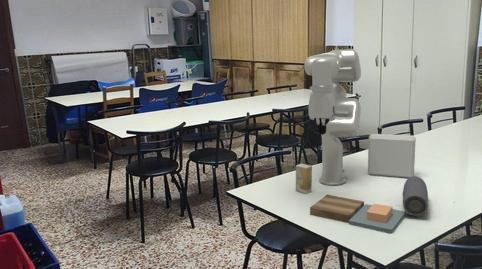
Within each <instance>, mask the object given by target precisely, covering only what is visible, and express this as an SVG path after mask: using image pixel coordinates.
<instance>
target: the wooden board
mask: <svg viewBox="0 0 482 269" xmlns="http://www.w3.org/2000/svg"><path fill="white" fill-rule="evenodd" d="M364 205H365V201H364V200H360V199H353V198H348V197H342V196H339V195H338V196H337V195H331V194H326V195H324V196H323V197H322V198H320V199H319V200H317V201H316V202H315V203H314V204H312V205H311V206H310V207H309V215H310V216H316V217H320V218H323V219H329V220H332V221H338V222H342V223H347V224H349V220H350V219H351V218H352V217H353V216H354V215H355V214H356V213H357V212H358V211H359V210H360V209H361V208H362V207H363V206H364Z"/></svg>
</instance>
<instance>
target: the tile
mask: <svg viewBox="0 0 482 269" xmlns="http://www.w3.org/2000/svg"><path fill="white" fill-rule="evenodd" d="M371 205H372V206H371V207H370V209H369V210H368V211H367V220H372V221H378V222H383V223H386V222H387V221H388V219H389V218H390V216H391V215H392V209H393V206H391V205H385V204H380V203H373V204H371Z"/></svg>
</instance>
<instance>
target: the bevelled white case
mask: <svg viewBox="0 0 482 269" xmlns="http://www.w3.org/2000/svg"><path fill="white" fill-rule="evenodd" d="M416 139H417V138H416V137H415V136H414V135H412V134H411V135H409V134H386V133H385V134H384V133H371V134H370V135H369V136H368V145H367V146H368V150H367V151H368V152H367V154H368V156H367V174H369V175H370V176H379V177H380V176H382V177H391V178H392V177H394V178H401V179H402V178H403V179H408V178H410V177H413V176H415V164H416V163H415V162H416V161H415V160H416V158H415V157H416Z"/></svg>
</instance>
